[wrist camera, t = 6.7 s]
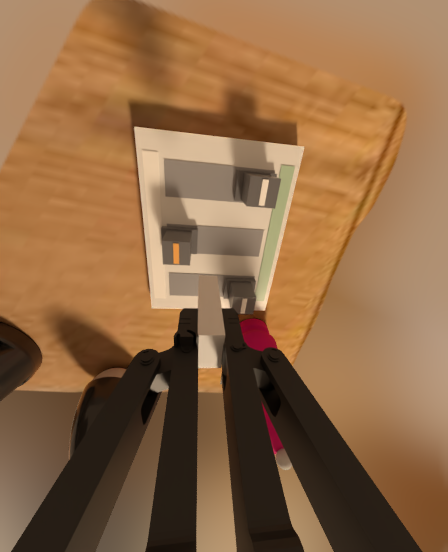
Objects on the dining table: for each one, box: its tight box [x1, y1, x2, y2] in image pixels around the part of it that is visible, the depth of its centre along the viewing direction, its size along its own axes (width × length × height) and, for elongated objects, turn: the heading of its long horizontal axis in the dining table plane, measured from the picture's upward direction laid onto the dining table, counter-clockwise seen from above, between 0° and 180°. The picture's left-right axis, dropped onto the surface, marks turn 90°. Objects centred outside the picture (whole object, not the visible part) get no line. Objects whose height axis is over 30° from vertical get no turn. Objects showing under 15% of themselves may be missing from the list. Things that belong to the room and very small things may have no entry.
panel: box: [134, 127, 304, 311], centre depth 28 cm, size 18×23×2 cm
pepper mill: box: [240, 319, 292, 470], centre depth 30 cm, size 7×7×20 cm
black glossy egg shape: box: [69, 368, 127, 460], centre depth 36 cm, size 10×10×15 cm
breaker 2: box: [234, 170, 281, 209], centre depth 22 cm, size 4×3×5 cm
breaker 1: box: [223, 278, 257, 314], centre depth 29 cm, size 4×3×5 cm
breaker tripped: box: [161, 226, 198, 266], centre depth 25 cm, size 4×3×5 cm
